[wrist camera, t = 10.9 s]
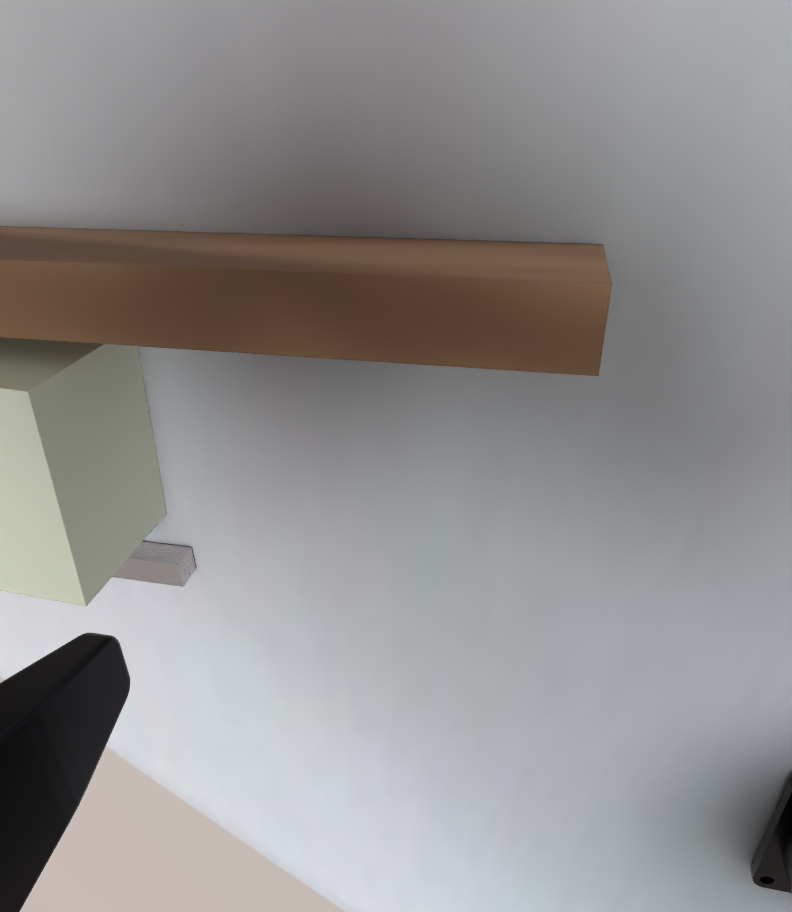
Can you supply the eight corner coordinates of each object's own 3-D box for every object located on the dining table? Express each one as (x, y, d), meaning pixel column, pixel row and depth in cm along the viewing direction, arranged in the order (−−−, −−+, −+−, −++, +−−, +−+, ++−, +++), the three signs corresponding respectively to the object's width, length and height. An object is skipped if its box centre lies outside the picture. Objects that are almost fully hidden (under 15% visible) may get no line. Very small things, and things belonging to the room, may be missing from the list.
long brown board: (592, 322, 18) (598, 376, 15) (-167, 284, 22) (-280, 319, 19) (602, 244, 17) (611, 284, 14) (-195, 220, 21) (-318, 246, 18)
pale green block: (171, 529, 25) (91, 626, 20) (48, 509, 25) (-53, 599, 21) (136, 324, 21) (27, 391, 16) (-9, 308, 21) (-148, 369, 17)
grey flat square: (196, 568, 25) (183, 586, 24) (-36, 538, 27) (-55, 554, 26) (142, 316, 20) (124, 327, 19) (-135, 300, 22) (-163, 310, 21)
